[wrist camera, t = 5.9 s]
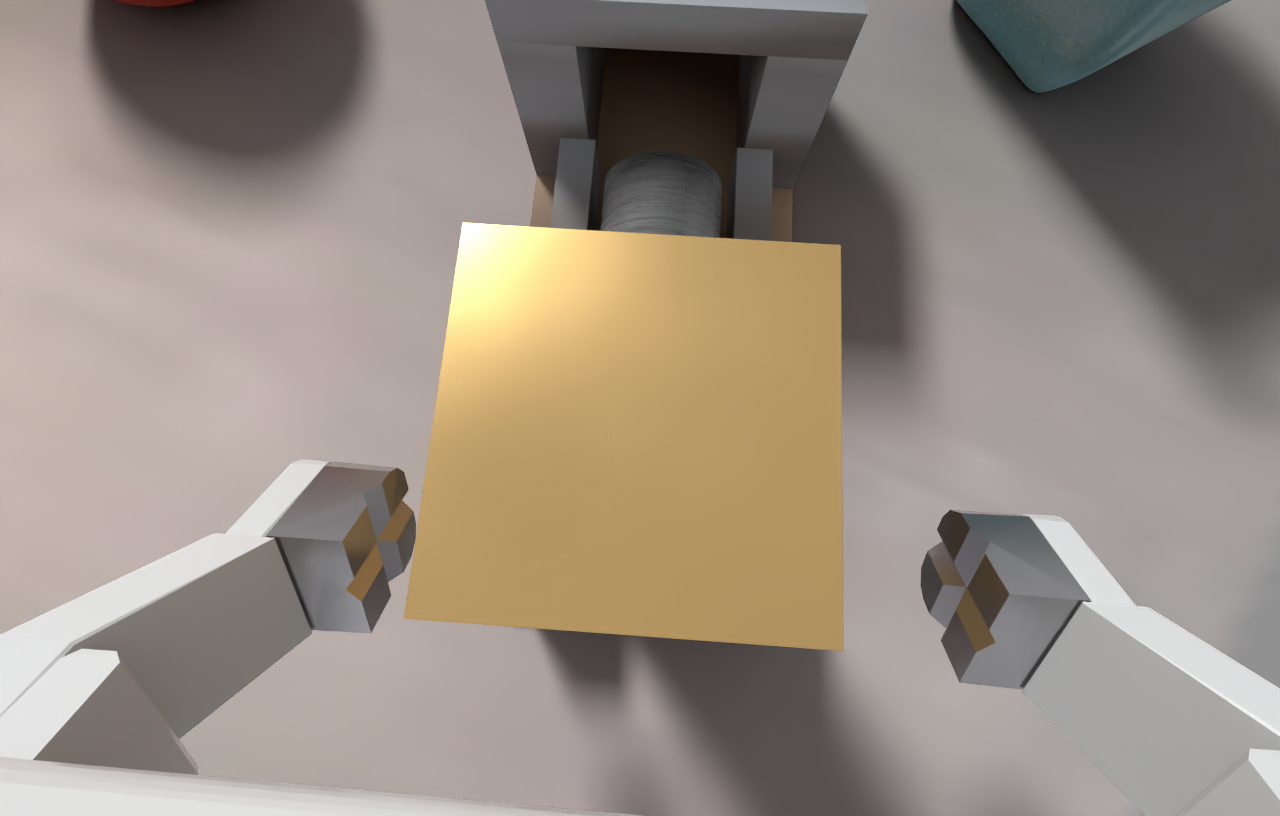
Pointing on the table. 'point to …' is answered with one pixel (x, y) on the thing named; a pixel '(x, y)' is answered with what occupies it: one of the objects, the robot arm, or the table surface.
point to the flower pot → (1075, 33)
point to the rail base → (674, 95)
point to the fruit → (154, 2)
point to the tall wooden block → (639, 426)
